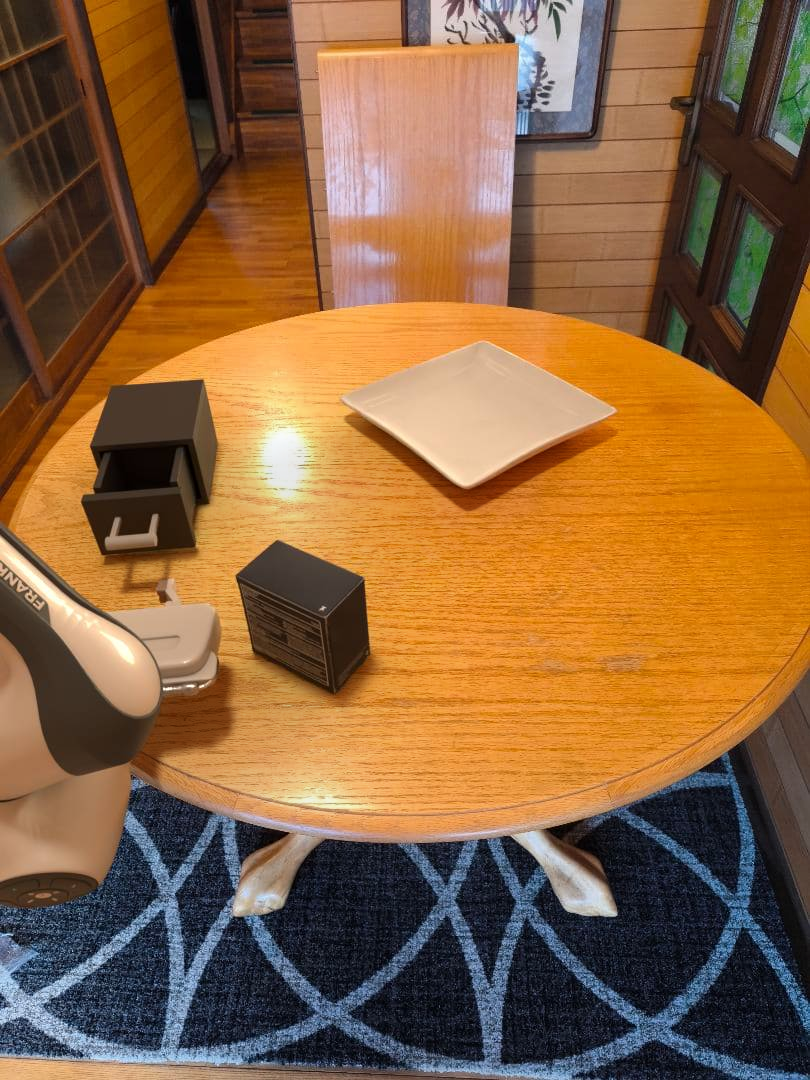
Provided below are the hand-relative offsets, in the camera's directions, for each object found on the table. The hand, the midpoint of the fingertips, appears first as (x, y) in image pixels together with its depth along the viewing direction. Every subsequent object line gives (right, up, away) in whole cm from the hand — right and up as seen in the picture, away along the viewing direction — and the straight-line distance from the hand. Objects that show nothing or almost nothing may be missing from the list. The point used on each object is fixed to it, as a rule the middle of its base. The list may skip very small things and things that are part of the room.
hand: (118, 587), depth 74 cm
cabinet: (-3, +13, +24) cm, 28 cm away
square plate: (+37, +20, +32) cm, 53 cm away
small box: (+18, -7, +2) cm, 20 cm away
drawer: (-2, +6, +15) cm, 16 cm away
